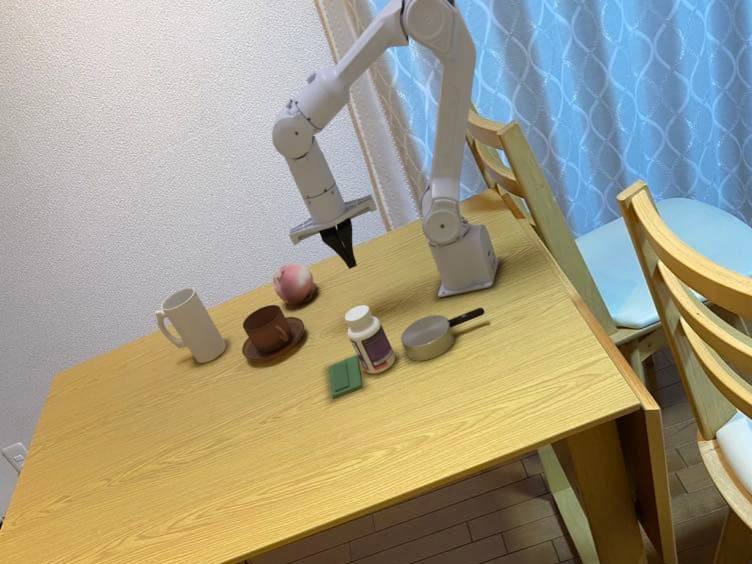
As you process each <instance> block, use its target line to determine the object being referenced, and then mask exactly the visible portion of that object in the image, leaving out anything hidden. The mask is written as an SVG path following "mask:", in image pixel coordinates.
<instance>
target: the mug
mask: <svg viewBox="0 0 752 564" xmlns="http://www.w3.org/2000/svg"><path fill="white" fill-rule="evenodd" d="M195 289H196V288H194V287H190V286H189V287H184V288H181V289H178V290H176V291H174V292H172V293H170V294H169V295H168V296H167V297H166V298H165V299H163V301H162V302H161V305H160V308H161V309H157V310H155V311H154V315H155V318H156V321H157V322H156V323H157V326H158V328H159V330H160V332H161V333H162V335H163V336H164V337H165V338H166V339H167V340H168V341H169V342H171V343H172V344H173V345H174V346H176V347H177V348H178V349H182V348H187V349H188V350H189V351H190V353H191V354H192V356H193V358H195V360H196V361H197V362H198V363H200V364H201V363H202V364H205V363H208V362H211V361H213V360H215V359H217V358H219V357H220V356H221V355H222V354H223V353H224V352H225V350H226V348H227V344H226V342H225V340H224V339H223V337H222V334H221V333H220V331H219V329H218V328H217V326H216V324H215V322H214V320H213V318H212V316H211V315H210V314H209V312H208V310H207V308H206V307H205V305H204V303H203V301H202V300H201V297H200V296H199V294H198V293H197V291H196V290H195ZM166 318H167V319H168V320H169V322H170V323H171V325H172V326H173V329H175V331H176V332H177V334H178V335H179V337H180V338H179V337H177V336H174V335H173V334H172V333H171V332H170V331H169V330H168V329H167V328H166V325H165V322H164V319H166Z"/></svg>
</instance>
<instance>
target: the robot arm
mask: <svg viewBox="0 0 752 564" xmlns="http://www.w3.org/2000/svg"><path fill="white" fill-rule="evenodd" d="M410 39H411V40H413V41H414V42H415V43H417V44H419V45H420V46H422V47H424V48H426V49H428V50H430V51H431V52H432V54H433V55H434V56H435V58H436V59H437V60H438V61H439V62H440V64H442V65H441V75H440V83H439V84H440V85H439V93H438V103H437V113H436V120H435V131H434V140H433V148H432V158H431V168H430V172H429V174H428V175H429V176H428V183H427V185H426V188H425V190H424V191H423V192H422V195H421V197H420V208H421V215H422V221H421V229H422V233H423V235H424V237H425V239H426V243H427V244H428V247H429V250H430V254H431V255H432V258H433V260H434V263H435V266H436V269H437V271H438V274H439V277H440V280H441V284H440V287H439V290H438V293H437V296H438V298H443V297H449V296H453V295H459V294H464V293H468V292H474V291H478V290H483V289H488V288H491V287H492V286H493V284H494V281H495V277H496V273H497V270H498V266H499V263H500V260H499V259H498V258H497V255H496V252H495V249H494V246H493V243H492V240H491V237H490V236H491V235H490V233H489V230H488V229H487V226H486V225H485V224H472V223H469V221H468V219H467V218H465V217H464V216H463V215H462V214H461V207H460V199H461V198H460V197H461V176H462V170H463V162H464V154H465V145H466V138H467V130H468V124H469V116H470V108H471V99H472V93H473V86H474V77H475V70H476V62H477V49H476V48H477V47H476V43H475V42H474V39H473V37H472V35H471V32H470V30H469V28H468V26H467V24H466V21H465V19H464V17H463V14H462V13H461V10H460V8H459V6H458V3H457V1H456V0H390V1H389V2H388V3H387V4H386V5H385V6H384V7H383V8H382V10H380V12H379V13H378V14H377V15H376V16H375V18H374V19H373V20H372V21H371V23H370V24H369V25H368V26H367V27H366V28H365V30H364V31H363V32H362V34H360V36H358V38H357V39H356V41H354V43H353V44H352V46H351V47H350V48H349V49H348V51H346V52H345V54H344V55H343V56H342V58H341V59H340V60H339V61H338V63H336V65H335V66H331V67H321V68H319V70H318V71H317V72H315V71H314V70H311V72H310V73H309V74H308V75H307V77H306V81H307V83H306V85H305V86H304V87H303V88H302V89H301V90H300V91H299V92H298V94H297V95H296V96H295V97H294V98H293V99H292V98H288V100H287V101H286V102H285V107H284V108H282V109H281V110H279V112H278V113H277V115H276V118H275V121H274V125H273V127H272V133H271V140H272V144H273V147H274V149H275V150H276V151H277V152H278V153H279V155H281V156H283V157H284V160H285V161H286V164H287V165H288V169H289V172H290V173H291V176H292V178H293V181H294V182H295V185H296V187H297V189H298V191H299V193H300V196H301V198H302V200H303V202H304V204H305V207H306V208H307V211H308V213H309V215H310V218H308V219H306V220H304V221H303V222H301V223H300V224H298V225H296V226H294V227H292V228H290V229H288V237H289V238H290V240H291V242H292V244H293V246H296V245H299V244H300V243H301V241H303V240H306V239H308V238H311V237H313V236H315V235H317V234H319V235H320V237H321V240H322V242H323V243H324V244H325V245H326V246H327V247H329V248H330V249H331V250H333V251H334V252H335V253H336V254H337V255H338V256H339V257H340V258H341V260H342V261H343V262H344V263H345V265H346V266H347V268H348V269H349V270H351V269H353V268H355V267H358V265H357V260H356V257H355V254H354V247H353V224H352V219H355V218H357V217H359V216H361V215H363V214H367V213H368V212H371V213H372V212H375V211H377V210H378V209H377V204H376V201H375V199H374V197H373V194H371V193H369V194H368V195H365V196H363V197H360V198H355V199H353V200H348V201H344V198H343V196H342V194H341V192H340V190H339V187H338V184H337V182H336V180H335V177H334V175H333V173H332V171H331V168H330V166H329V164H328V161H327V159H326V156H325V154H324V152H323V151H322V149H321V146H320V144H319V142H318V140H317V137H316V135H317V134H320V133H321V132H322V131H323V130H324V129H325V128H326V127H327V126H328V125H329V124H330V123H331V121H333V120H334V118H335V117H336V116H337V115H338V114H339V113H340V112H341V111H342V110H343V108H344V107H346V105H347V104H348V103H349V102H350V101H351V88H350V87H351V86H352V85H353V84H354V83H355V82H356V81H357V80H358V79H359V78H360V77H361V76H363V74H364V73H365V72H366V71H367V70H368V69H369V68H370V67H371V66H372V65H373V64H374V63H375V62H376V61H377V60H378V59H379V58H380V57H381V56H382V55H383V54H384V53H385V52H386V51H387V50H388V49H389V48H395V47H396V48H399V47H408V46H410Z"/></svg>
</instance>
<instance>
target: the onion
mask: <svg viewBox="0 0 752 564" xmlns="http://www.w3.org/2000/svg"><path fill="white" fill-rule="evenodd" d="M272 276H273V277H272V283H273V289H274V291H275V293H276V295H277V296H278V297H279V298H280V300H281V301H283V302H284V303H285V304H287V305H290V306H291V305H292V306H301V305H304V303H306V302H309V301H310V300H311V299H312V298H313V295H314V293H315V290H316V288H317V287H318V283H315V282H314V277H313V273H312V271H311V270H310V269H309V268H308V267H307V266H306V265H303V264H299V263H290V264H285V265H282V266H280V267H279V268H278V269H277V270H276V271H275V273H274V274H273V275H272Z"/></svg>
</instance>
